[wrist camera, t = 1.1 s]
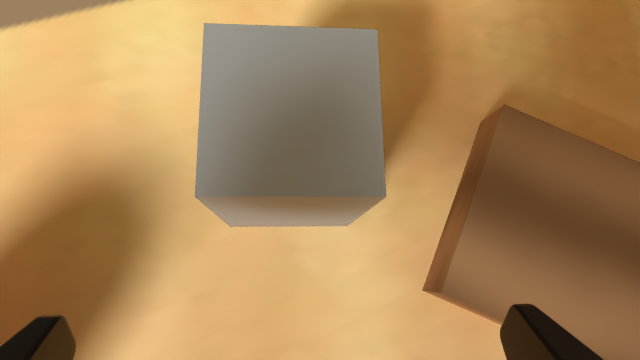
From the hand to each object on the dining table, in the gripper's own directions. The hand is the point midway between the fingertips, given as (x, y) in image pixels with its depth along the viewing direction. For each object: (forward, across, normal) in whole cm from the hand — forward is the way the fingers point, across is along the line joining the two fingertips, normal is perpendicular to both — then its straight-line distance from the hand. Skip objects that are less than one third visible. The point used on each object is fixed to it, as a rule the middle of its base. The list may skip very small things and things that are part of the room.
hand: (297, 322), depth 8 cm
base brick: (+11, -13, +7) cm, 19 cm away
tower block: (+13, 0, +4) cm, 14 cm away
